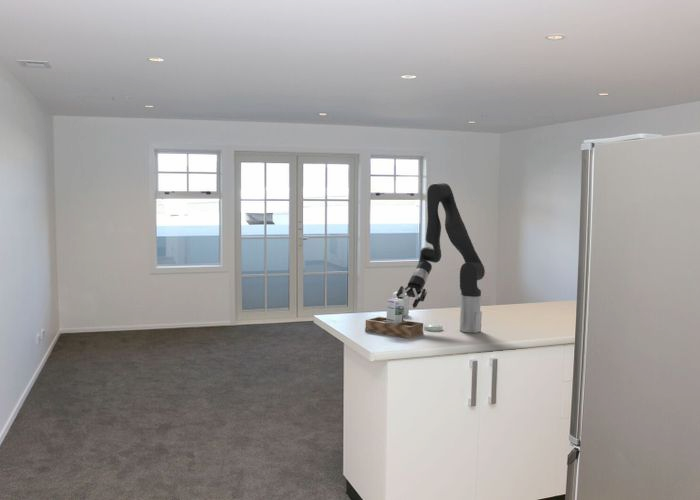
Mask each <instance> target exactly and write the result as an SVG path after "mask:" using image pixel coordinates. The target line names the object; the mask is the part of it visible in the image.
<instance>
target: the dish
mask: <svg viewBox="0 0 700 500" xmlns="http://www.w3.org/2000/svg"><path fill="white" fill-rule="evenodd" d="M443 327H444V326H443V325H441V324H437V323H426V324H423V331H428V332H441V331H443Z"/></svg>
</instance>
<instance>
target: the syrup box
mask: <svg viewBox="0 0 700 500" xmlns="http://www.w3.org/2000/svg"><path fill="white" fill-rule="evenodd" d="M386 318H387V323H393V324H399V323H402V322H403V320H404V300H402V299H397V298H396V299H392V298H387V299H386Z"/></svg>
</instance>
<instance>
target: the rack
mask: <svg viewBox="0 0 700 500" xmlns="http://www.w3.org/2000/svg"><path fill="white" fill-rule="evenodd" d="M364 332H366V333H367V332H368V333H373V334H374V333H375V334H380V335H386V336H392V337H396V338H402V339H412V338H415V337H419V336H422V335H424V322H418V321H412V320H405V319H403V322H402V323H399V324H393V323H387V316H386V317H385V316H377V317H373V318H367V319H365V328H364Z"/></svg>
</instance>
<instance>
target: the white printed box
mask: <svg viewBox="0 0 700 500" xmlns="http://www.w3.org/2000/svg"><path fill="white" fill-rule="evenodd" d="M397 292H398V291H394V292H393V293H392V296H391V297H392V298H391V299H396V298H397V299H398V297H397V296H396V294H397ZM405 295H407V294H406V293H405ZM403 296H404V295H403ZM403 296H402V297H403ZM403 300H404V316H408V315H409V309H410V308H409V307H410V297H407V298H404V299H403Z"/></svg>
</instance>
